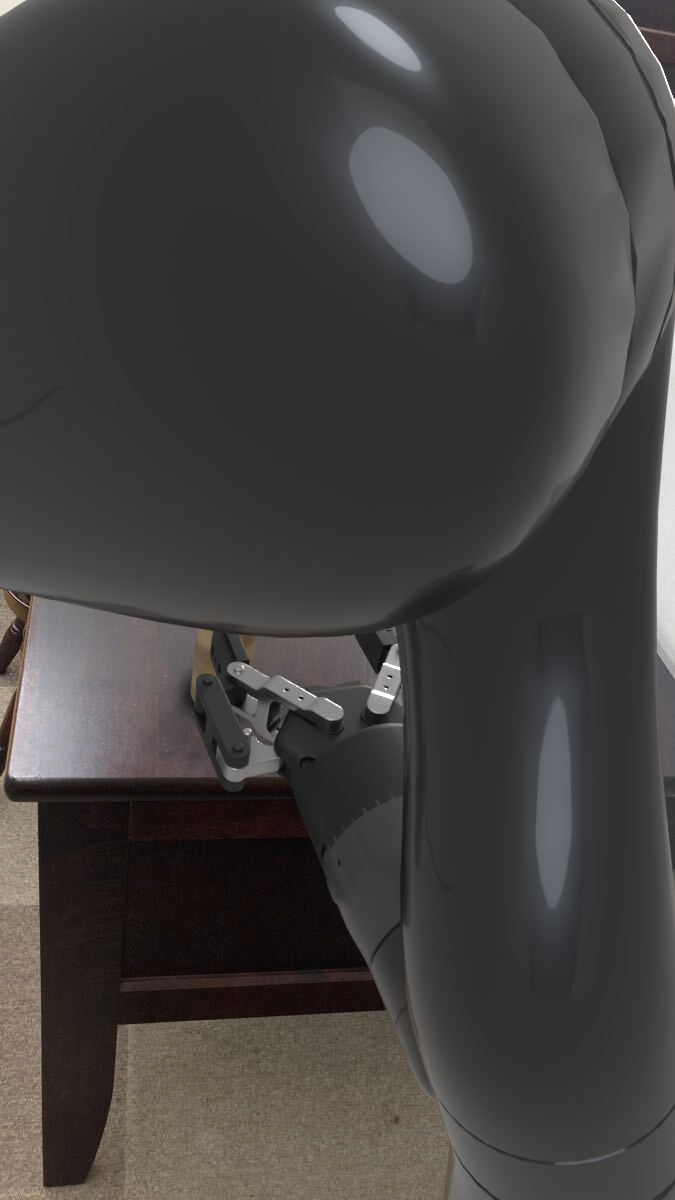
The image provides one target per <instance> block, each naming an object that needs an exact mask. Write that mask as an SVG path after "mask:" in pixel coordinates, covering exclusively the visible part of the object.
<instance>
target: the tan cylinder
mask: <svg viewBox="0 0 675 1200" xmlns="http://www.w3.org/2000/svg"><path fill="white" fill-rule="evenodd" d="M196 630H197V631H196V636H195V645H194V654H193V655H194V656H193V665H192V673H191V683H190V697H191V699H192V701H193V702H194V703H195V695H196V688H195V686H196V679H197V677H198V676H199V675H201V674H206V673H209V674H213V675H215V676H216V675H217V674H216V671H215V669H214V666H213V663H212V661H211V658H210V650H211V641H212V634H213V631H210V630H204V629H198V628H196ZM240 637H241V640H242V642H243V645H244V647H245V649H246V652H247V654H248V657H249V659H250V662H249V666H250V667H252V668H253V661H254V655H255V649H256V644H257V637H258V636H249V635H240ZM248 693H249V692H247V694H248Z"/></svg>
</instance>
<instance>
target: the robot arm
mask: <svg viewBox="0 0 675 1200" xmlns="http://www.w3.org/2000/svg"><path fill="white" fill-rule="evenodd" d="M673 97H674V96H673V95H672V92H671V89H670V86H669V83H668V81H667V77H666V75H665V72H664V69H663V67H662V65H661V63H660V61H659V60H658V58H657V57H656V55H655V54H654V52H653V51H652V49H651V47H650V46H649V44H648V42H647V41H646V39H645V38H644V35H642V33H641V31H640V30H639V28H638V26H637V25H636V24H635V22H634V21H633V19H632V17H631V15H630V14H628V13H627V12H626V10H625V9H623V7H621V6H620V5H619V4H618V3H617V2H616V1H615V0H24V1H22V2H20V3H19V4H17V5H16V6H14V7H12V8H11V9H10V10H8V11H7V12H5V13H4V14H1V15H0V590H3V591H8V592H12V593H18V594H23V595H27V596H32V597H36V598H41V599H46V600H50V601H55V602H59V603H64V604H69V605H72V606H77V607H82V608H88V609H93V610H97V611H102V612H108V613H112V614H117V615H122V616H127V617H131V618H134V619H135V618H136V619H142V620H145V621H149V622H150V621H151V622H156V623H162V624H167V625H173V626H179V627H180V626H181V627H187V628H191V629H197V628H198V629H204V630H210V631H213V634H212V641H211V650H210V658H211V661H212V663H213V666H214V669H215V671H216V674H217V675H216V676H215V675H213V674H209V673H206V674H201V675H199V676H198V677H197V679H196V686H195V688H196V695H195V702H194V705H193V707H192V718H193V720H194V723H195V725H196V728H197V730H198V732H199V735H200V737H201V740H202V742H203V744H204V747H205V750H206V751H207V754H208V756H209V759H210V761H211V764H212V766H213V768H214V771H215V773H216V776H217V778H218V781H219V783H220V786H221V787H222V788H223V790H225V791H227V792H231V793H236V792H237V793H238V792H240V791H242V790H243V789H244V788H245V786H246V781H247V778H251V777H255V776H260V775H265V774H269V773H274V772H275V773H276V774H277V775H278V776H280V777H281V778H282V779H283V780H285V781H286V783H287V784H288V785H289V786H290V787H291V788H290V789H292V793H293V795H294V799H295V802H296V806H297V808H298V811H299V814H300V816H301V818H302V821H303V823H304V826H305V828H306V830H307V834H308V835H309V837H310V841H311V843H312V846H313V848H314V851H315V853H316V855H317V858H318V861H319V862H320V866H321V868H322V870H323V873H324V876H325V878H326V885H327V888H328V892H329V894H330V897H331V899H332V901H333V902H334V903H335V905H337V907H338V910H339V913H340V915H341V919H342V920H343V922H344V924H345V927H346V929H347V931H348V933H349V934H350V936H351V938H352V940H353V942H354V943H355V945H356V946H357V948H358V950H359V952H360V954H361V955H362V957H363V959H364V961H365V962H366V964H367V967H368V969H369V971H370V973H371V976H372V978H373V981H374V983H375V985H376V988H377V990H378V993H379V996H380V998H381V1000H382V1003H383V1005H384V1008H385V1010H386V1013H387V1014H388V1017H389V1020H390V1023H391V1025H392V1028H393V1030H394V1032H395V1034H396V1038H397V1040H398V1042H399V1044H400V1047H401V1049H402V1051H403V1054H404V1056H405V1059H406V1061H407V1063H408V1066H409V1068H410V1070H411V1073H412V1074H413V1077H414V1078H415V1080H416V1082H417V1084H418V1086H419V1087H420V1089H421V1090H422V1091H423V1093H424V1094H425V1095H426V1096H427V1097H428V1098H429V1099H430V1100H431V1101H433V1103H436V1105H437V1109H438V1112H439V1115H440V1117H441V1121H442V1124H443V1125H444V1128H445V1132H446V1135H447V1138H448V1159H447V1166H446V1173H445V1180H444V1185H443V1195H442V1200H675V881H674V874H673V873H674V872H673V863H672V855H671V853H672V852H671V843H670V834H669V823H668V814H667V813H668V812H667V801H666V789H665V778H664V765H663V753H662V751H663V750H662V736H661V719H660V706H659V705H660V704H659V676H658V675H659V674H658V672H659V671H658V669H659V667H658V548H659V547H658V545H659V544H658V543H659V507H660V495H661V494H660V493H661V481H662V468H663V467H662V466H663V455H664V453H663V452H664V441H665V431H666V430H665V429H666V420H667V419H666V418H667V408H668V395H669V384H670V375H671V365H672V355H673V347H674V346H673V345H674V336H675V100H674V98H673ZM393 628H395V632H394V630H393ZM240 635H249V636H257V637H260V638H261V637H262V638H271V639H272V638H275V639H305V638H307V639H308V638H337V637H347V636H354V638H355V640H356V642H357V643H358V645H359V647H360V648H361V651H362V652H363V654H364V656H365V657H366V660H367V661H368V663H369V665H370V666H371V669H372V670H373V672H374V674H375V675H377V678H376V680H375V683H374V685H373V686H371V685H367V684H362V682H361V680H360V679H359V680H352V681H351V680H350V681H345V682H342V683H339V684H337V685H319V684H318V685H312V686H304V687H305V688H302V687H301V686H298V685H297V684H295V683H293V682H291V680H288V679H286V678H284V677H282V676H281V675H277V674H275V675H274V676H272V677H269V676H267V675H266V674H265V673H263V672H260V671H259V670H257V669H255V668H254V667H253V666H252V667H250V666H249V662H250V659H249V657H248V654H247V652H246V649H245V647H244V645H243V642H242V640H241V637H240ZM247 692H248V693H249V694H251V695H249V694H248V693H247ZM400 692H401V701H402V702H401V701H399V700H398V698H399V695H400ZM252 695H253V696H254V697H253V696H252ZM282 706H284V707H285V708H287V709H288V710H287V712H286V715H285V717H284V718H283V719H282V718H281V714H280V712H281V707H282ZM237 716H239V717H241V718H242V719H244V720H245V721H247V722H248V723H250V724H251V725H252V728H253V730H254V732H255V733H256V734H257V735H258V736H260V737H262V738H263V739H264V740H266V741H268V742H270V743H272V745H271V744H269V745H268V744H264V743H262V742H261V741H259V740H258V738H257V737H256V736H255V735H254V734H253V730H252V729H251V728H249V727H244V728H242V726H241V724H240V721H239V719H238V717H237Z"/></svg>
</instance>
